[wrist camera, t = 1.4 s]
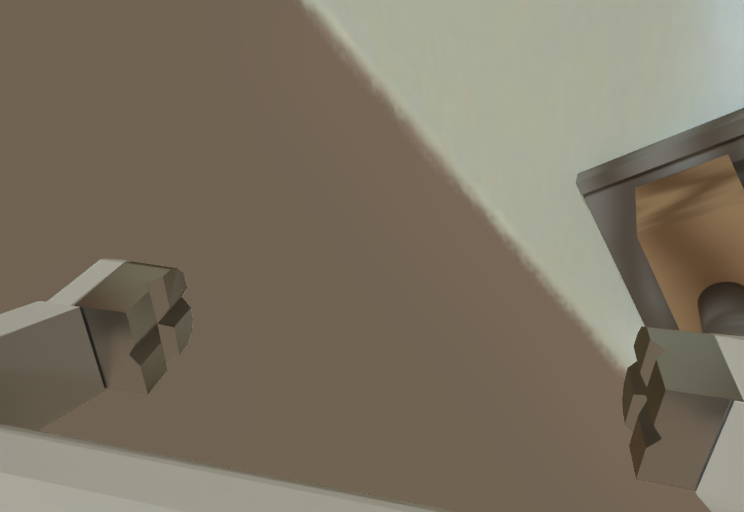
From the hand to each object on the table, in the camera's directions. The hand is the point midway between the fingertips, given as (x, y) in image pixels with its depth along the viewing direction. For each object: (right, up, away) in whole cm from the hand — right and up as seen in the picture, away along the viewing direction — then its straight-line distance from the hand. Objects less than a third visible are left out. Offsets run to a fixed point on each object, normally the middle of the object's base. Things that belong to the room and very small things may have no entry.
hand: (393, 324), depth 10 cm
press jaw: (+24, +2, +31) cm, 40 cm away
